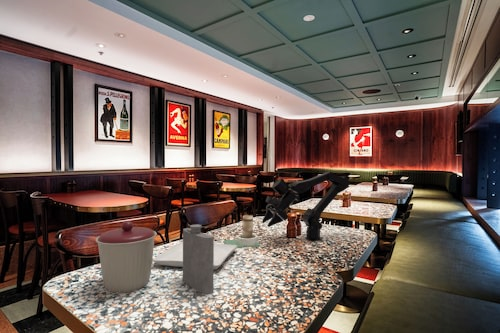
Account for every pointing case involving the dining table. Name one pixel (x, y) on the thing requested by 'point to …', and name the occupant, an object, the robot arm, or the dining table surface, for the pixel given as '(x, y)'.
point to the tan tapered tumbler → (247, 226)
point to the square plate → (176, 255)
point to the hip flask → (198, 259)
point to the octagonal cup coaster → (243, 241)
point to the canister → (126, 257)
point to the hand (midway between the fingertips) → (265, 224)
